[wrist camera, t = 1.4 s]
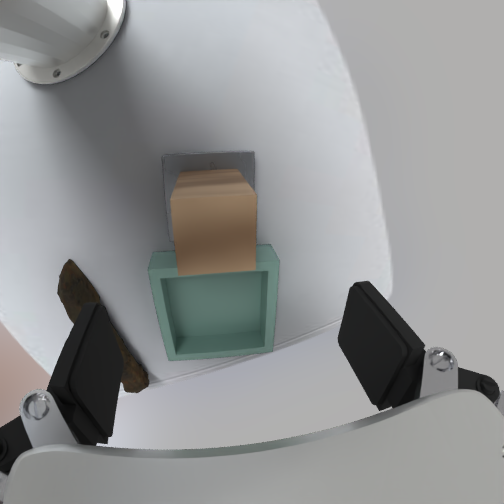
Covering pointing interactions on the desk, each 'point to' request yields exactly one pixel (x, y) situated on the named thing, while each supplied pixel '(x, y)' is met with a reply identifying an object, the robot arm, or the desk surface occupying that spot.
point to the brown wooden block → (214, 222)
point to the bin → (215, 308)
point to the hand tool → (81, 291)
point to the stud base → (203, 162)
